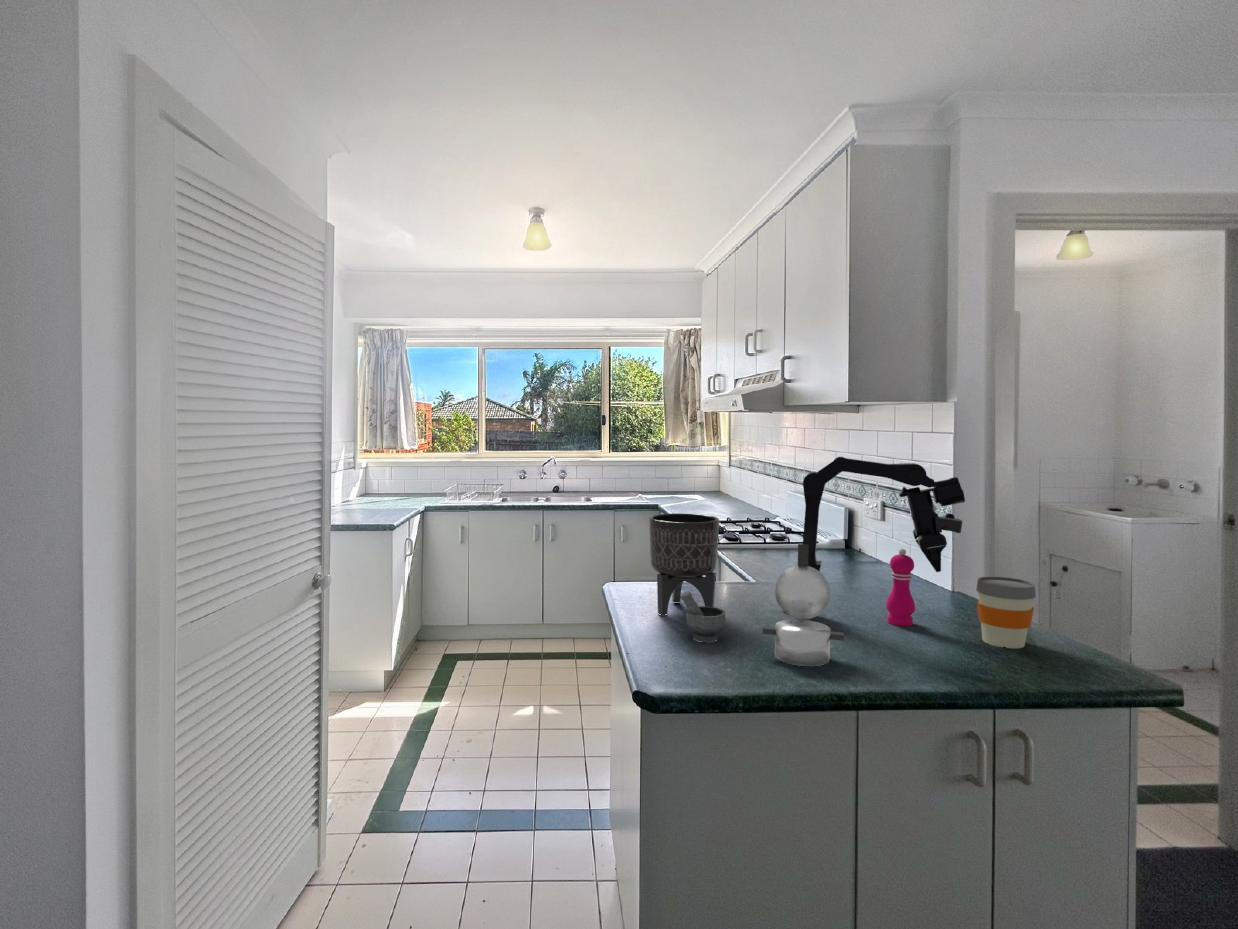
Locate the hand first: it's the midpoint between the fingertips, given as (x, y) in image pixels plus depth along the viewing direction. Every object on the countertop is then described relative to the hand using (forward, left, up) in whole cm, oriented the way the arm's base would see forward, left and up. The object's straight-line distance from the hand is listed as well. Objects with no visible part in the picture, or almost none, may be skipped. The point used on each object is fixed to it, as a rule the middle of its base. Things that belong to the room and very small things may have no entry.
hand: (936, 568), depth 174 cm
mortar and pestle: (-21, -60, -16) cm, 66 cm away
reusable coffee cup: (+17, +3, -16) cm, 23 cm away
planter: (-44, -49, -16) cm, 68 cm away
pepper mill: (-6, -5, -16) cm, 18 cm away
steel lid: (-6, -43, 0) cm, 43 cm away
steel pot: (0, -49, -15) cm, 51 cm away
